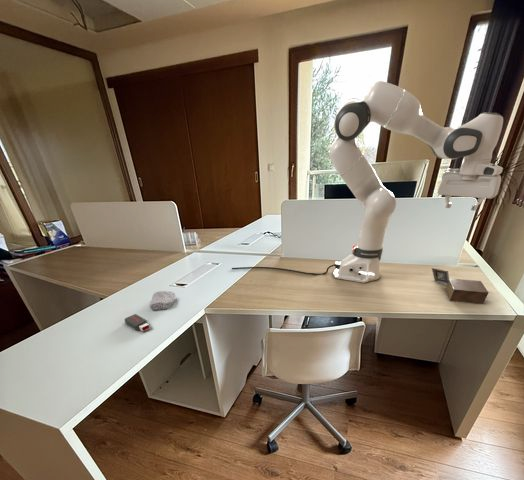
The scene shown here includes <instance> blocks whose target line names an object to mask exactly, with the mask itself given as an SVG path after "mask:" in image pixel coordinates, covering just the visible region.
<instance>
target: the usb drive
mask: <svg viewBox="0 0 524 480" xmlns="http://www.w3.org/2000/svg"><path fill="white" fill-rule="evenodd" d="M124 323H125V324H126V325H127V326H128V327H130V328H132V329H133V330H135V331H137V332H140V331H141V332H143V333H144V332H146V331H147V330H150V329H151V326H150V324H149V323H148V319H145V318H143V317H142V316H140V315H138V314H136V313H135V314H132V315H130V316H127V317H125V318H124Z"/></svg>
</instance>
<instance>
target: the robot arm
mask: <svg viewBox="0 0 524 480" xmlns="http://www.w3.org/2000/svg"><path fill="white" fill-rule="evenodd" d="M333 123H334V131H335V135H336V138H335V140H334V141H333V142H332V143H331V145H330V146H329V150H328V158H329V159H330V161H331V164H332V166H333V168H334V170H335V171H336V172H337V174H338V176H339V177H340V178H341V179H342V180H343V182H344V184H345V185H346V186H347V187H348V189H349V190H350V192H351V193H352V194H353V196H354V197H355V198H356V200H357V202H358V203H359V204H360V206H361V207H362V208H363V209H364V211H365V212H364V213H365V214H364V218H363V221H362V224H361V227H360V230H359V236H358V242H357V244H353V245H352V252H351V254H349V255H348V256H347V257H345V258H343V259H342V260H341V261H335V263H333V264H331V265H329V266H328V267H327V268H326V271H324V272H323V273H318V272H317V273H316V272H307V271H301V270H295V269H289V268H282V267H272V266H242V267H231V270H241V269H242V270H244V269H247V270H248V269H270V270H271V269H272V270H280V271H287V272H292V273H300V274H302V275H303V274H304V275H311V276H313V275H314V276H321V275H326V274H327V273H328V272H329V269H330V268H333V267H334V271H333V277H334V278H335V279H339V280H345V281H351V282H356V283H357V282H358V283H363V284H365V283H369V282H372V281H376V280H378V279H379V278H380V277H381V275H380V262H381V259H382V256H383V252H384V251H383V245H384V239H385V235H386V232H387V228H388V225H389V222H390V220H391V218H392V214H393V213H394V211H395V209H396V207H397V200H396V197H395V194H394V193H393V192H392V191H391V190H389V189H387V188H386V187H385V186H384V185H383V183H382V182H381V180H380V178H379V177H378V175H377V173H376V170H375V169H374V167H373V166H372V164H371V163H370V161H369V160H368V158H367V157H366V156H365V154H364V153H363V151H362V150H361V148H360V147H359V145H358V143H357V138H358V137H359V136H360V135H361V134H362V132H363V131H364V130H365V129H366V128H367V126H368V125H369V124H370V123H374V124H377V125H379V126H381V127H382V128H384V129H386V130H389V131H391V132H394V133H397V134H401V135H409V136H412V137H414V138H415V139H418V140H419V141H421V142H422V143H424V144H426V145H428V146H429V147H430V150H431V151H432V153H433V154H434V156H435V157H436V158H437V159H441V160H445V159H446V160H457V159H459V158H460V159H461V158H463V159H462V162H461V165H460V167H459V168H458V167H457V168H451V167H450V168H447V169H446V170H444V171H443V173H442V175H441V181H440V183H439V186H438V188H437V195H438V196H445V197H444V200H445V209H450V208H451V207H452V206H453V205H452V202H451V200H450V199H451V198H452V197H462V198H463V197H464V198H476V199H477V203H476V204H473V205H472V206H471V209H470V211H474V212H476V211H477V209H478V207H479V205H481V203H482V202H484V200H485V199H494V198H495V197H496V196H497V195H498V193H499V190H500V187H501V182H502V176H501V174H502V173H503V170H504V167H502V166H500V165H497V164H494V163H491V161H492V158H493V152H494V150H495V148H496V147H497V145H498V142H499V139H500V136H501V133H502V129H503V125H504V117H503V116H502V115H501V114H500V113H497V112H482V113H480V114H479V115H478V116H476V117H474V118H473V119H471V120H469V121H468V122H466V123H464V124H461V125H460V126H457V127H456V126H447V127H445V126H441V125H439V124H438V123H436V122H435V121H433V120H431V119H429V117H427V116H425V115H424V113H423V112H422V107H421V102H420V100H418V98H417V97H416V96H414V95H413V94H412V93H411V92H409V91H408V90H406V89H404V88H402V87H400V86H398V85H396V84H392V83H390V82H386V81H382V80H379V81H376V82H375V83H374V84H372V85H371V86H370V88H369V89H368V90H367V92H366V94H365V96H364V98H362V99H361V100H360V99H358V98H350V99H348V100H346V101H344V103H343V104H341V106H340V107H339V108H338V110H337V112H336V114H335V118H334V122H333Z"/></svg>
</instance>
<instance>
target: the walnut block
mask: <svg viewBox="0 0 524 480" xmlns="http://www.w3.org/2000/svg"><path fill="white" fill-rule="evenodd" d="M444 289H445V292H446V295H447V297H448V300H449V301H450V302H458V303H468V304H480V305H485V304H484V303H485V301H486V299H487V298H488V295H489V293H490V292H489V291H488V290H487V288H486V286H485V285H484V284H483V282H482V280H473V279H459V278H449V280H448V283H447V285H445V288H444Z"/></svg>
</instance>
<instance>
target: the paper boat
mask: <svg viewBox="0 0 524 480" xmlns="http://www.w3.org/2000/svg"><path fill="white" fill-rule="evenodd" d="M431 271H432V275H433V279H434V282H435V283H438V284H441V285H444V286H447V283H448V280H449V279H450V275H449V271H448V270H443V269H438V268H434V267H431Z"/></svg>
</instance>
